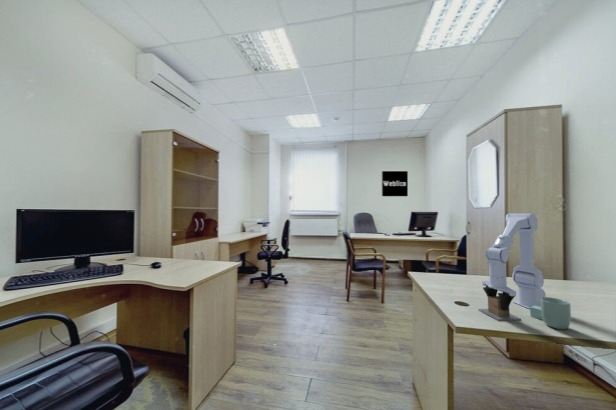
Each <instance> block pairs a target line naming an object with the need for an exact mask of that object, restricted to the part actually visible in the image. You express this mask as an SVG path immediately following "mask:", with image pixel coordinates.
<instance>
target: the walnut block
mask: <svg viewBox="0 0 616 410" xmlns="http://www.w3.org/2000/svg"><path fill="white" fill-rule="evenodd" d="M487 309H488V311H489V312H491V313H493V314H495V315H497V316H510V314H511V313H510V307H509V308H508V311H503V310H502V308H501V301H500V298H499V295H496V296H488V297H487Z"/></svg>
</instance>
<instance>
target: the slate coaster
mask: <svg viewBox="0 0 616 410" xmlns="http://www.w3.org/2000/svg"><path fill="white" fill-rule="evenodd" d="M478 312H480V313H483V314H485V315H487V316H489V317H490V318H492V319H494V320H496V321H499V322H500V321H522V318H520V317H518V316H516V315H515V314H512V313H510V316H497V315H495V314H493V313H491V312H489V311H488V308H478Z"/></svg>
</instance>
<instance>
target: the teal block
mask: <svg viewBox="0 0 616 410" xmlns="http://www.w3.org/2000/svg"><path fill="white" fill-rule="evenodd" d="M529 310H530V311H529V312H530V317H531V318H536V319H538V320H541V321H543V319H542V315H541V307H539V306H532V307H530V309H529Z"/></svg>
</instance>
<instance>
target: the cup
mask: <svg viewBox="0 0 616 410" xmlns="http://www.w3.org/2000/svg"><path fill="white" fill-rule="evenodd" d="M541 315H542V319H543V320H542V321H543V323H544V324H545V325H547V326H549V327H551V328H553V329H558V330H567V329H568V328H569V327H570V326H571V321H572V310H571V303H570V302H569V301H567V300H564V299H561V298H556V297H549V296H546V297H542V298H541Z"/></svg>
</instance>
